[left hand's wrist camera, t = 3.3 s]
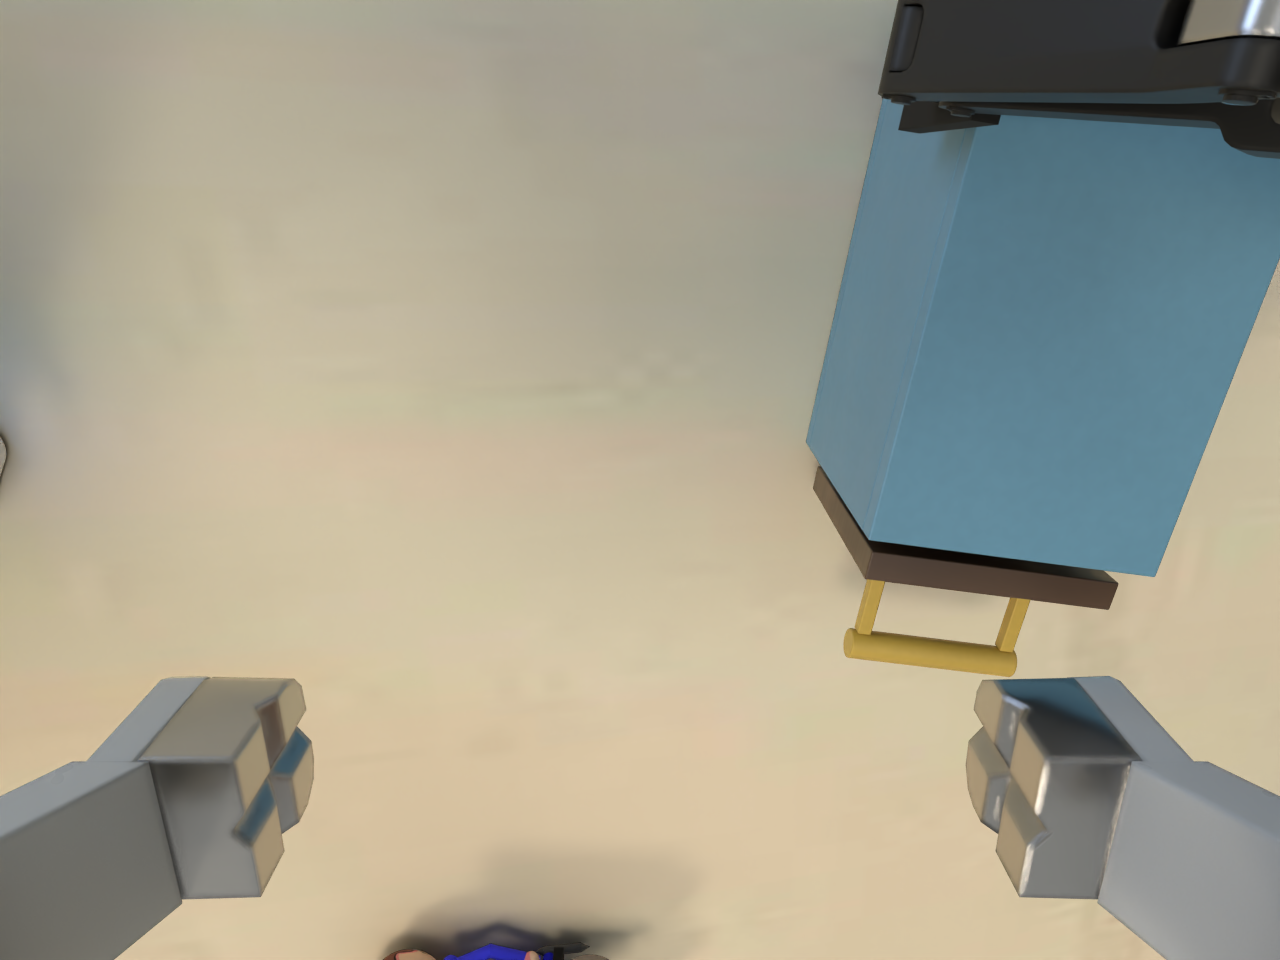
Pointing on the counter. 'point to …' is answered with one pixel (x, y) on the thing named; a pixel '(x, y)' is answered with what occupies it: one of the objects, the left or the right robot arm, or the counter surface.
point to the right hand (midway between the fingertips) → (1113, 121)
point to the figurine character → (503, 953)
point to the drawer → (952, 574)
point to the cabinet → (1041, 333)
